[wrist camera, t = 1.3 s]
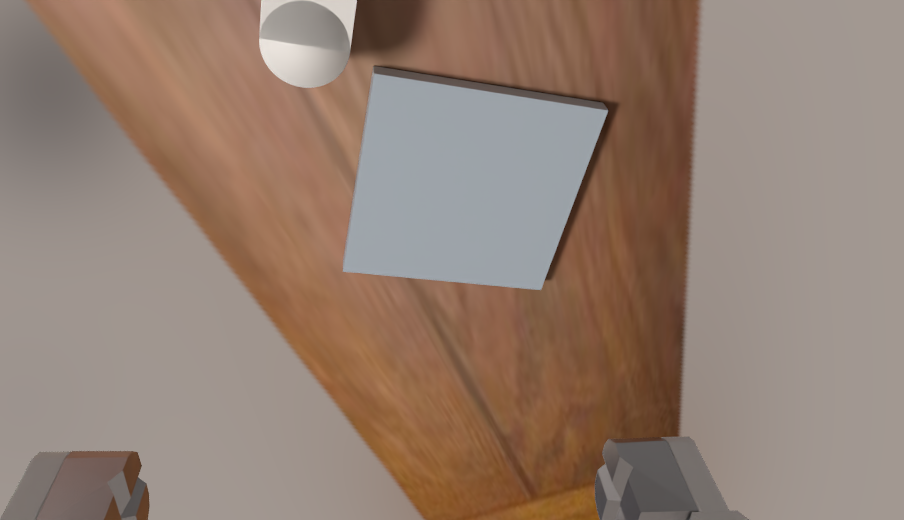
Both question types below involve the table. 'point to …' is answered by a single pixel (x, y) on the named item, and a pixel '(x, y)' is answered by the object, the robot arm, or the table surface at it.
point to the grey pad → (466, 179)
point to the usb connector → (306, 39)
